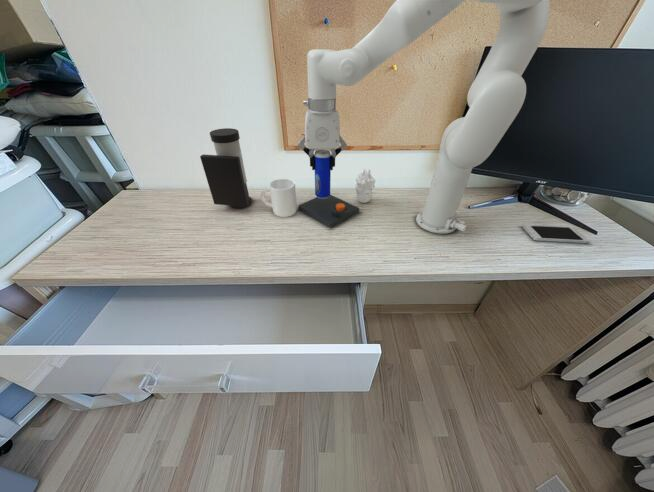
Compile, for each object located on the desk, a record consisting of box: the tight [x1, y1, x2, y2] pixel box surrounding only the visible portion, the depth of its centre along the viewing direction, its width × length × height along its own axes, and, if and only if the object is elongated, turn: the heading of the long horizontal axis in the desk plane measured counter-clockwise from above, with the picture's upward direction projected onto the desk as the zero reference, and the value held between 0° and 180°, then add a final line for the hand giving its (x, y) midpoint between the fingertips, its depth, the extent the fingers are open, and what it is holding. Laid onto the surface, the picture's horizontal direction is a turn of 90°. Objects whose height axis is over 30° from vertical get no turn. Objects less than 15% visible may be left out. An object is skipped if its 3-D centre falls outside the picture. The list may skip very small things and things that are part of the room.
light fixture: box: [199, 127, 253, 210], centre depth 85 cm, size 12×11×25 cm
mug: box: [260, 178, 298, 218], centre depth 87 cm, size 12×8×10 cm
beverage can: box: [314, 149, 332, 199], centre depth 84 cm, size 5×5×15 cm
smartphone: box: [522, 224, 590, 244], centre depth 79 cm, size 7×15×1 cm, turn 86°
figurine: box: [354, 168, 376, 204], centre depth 92 cm, size 7×7×12 cm
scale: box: [297, 194, 360, 229], centre depth 89 cm, size 16×14×4 cm
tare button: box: [336, 203, 345, 211], centre depth 85 cm, size 3×3×2 cm
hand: (322, 168), depth 82 cm, fingers closed on beverage can, 5 cm apart
